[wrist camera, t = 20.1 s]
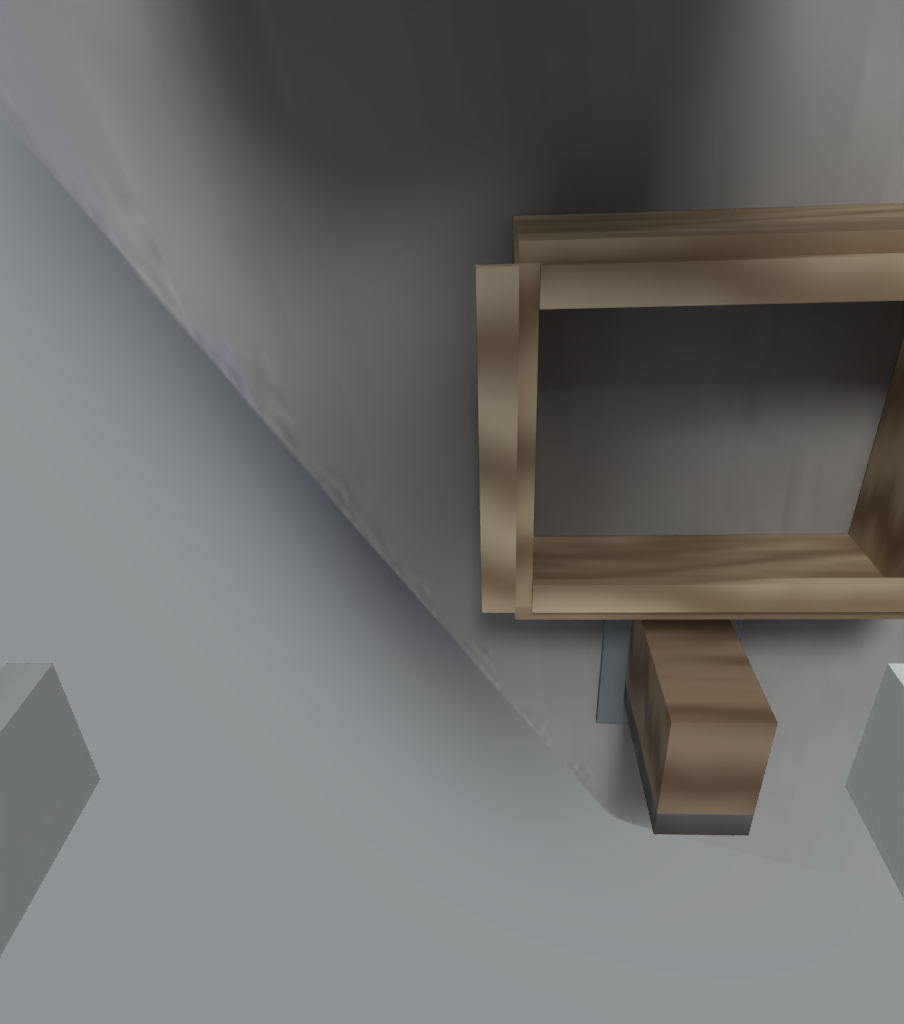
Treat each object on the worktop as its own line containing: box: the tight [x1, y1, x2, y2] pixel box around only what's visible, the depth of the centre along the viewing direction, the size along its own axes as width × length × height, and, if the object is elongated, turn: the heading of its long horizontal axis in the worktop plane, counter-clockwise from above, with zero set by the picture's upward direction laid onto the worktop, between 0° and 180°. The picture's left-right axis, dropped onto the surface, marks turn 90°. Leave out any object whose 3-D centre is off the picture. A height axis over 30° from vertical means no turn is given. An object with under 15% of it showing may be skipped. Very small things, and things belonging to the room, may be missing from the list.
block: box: [623, 619, 777, 835], centre depth 49 cm, size 10×6×12 cm, turn 2°
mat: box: [596, 619, 745, 723], centre depth 55 cm, size 15×10×1 cm, turn 2°
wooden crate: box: [476, 204, 904, 620], centre depth 41 cm, size 22×28×9 cm
